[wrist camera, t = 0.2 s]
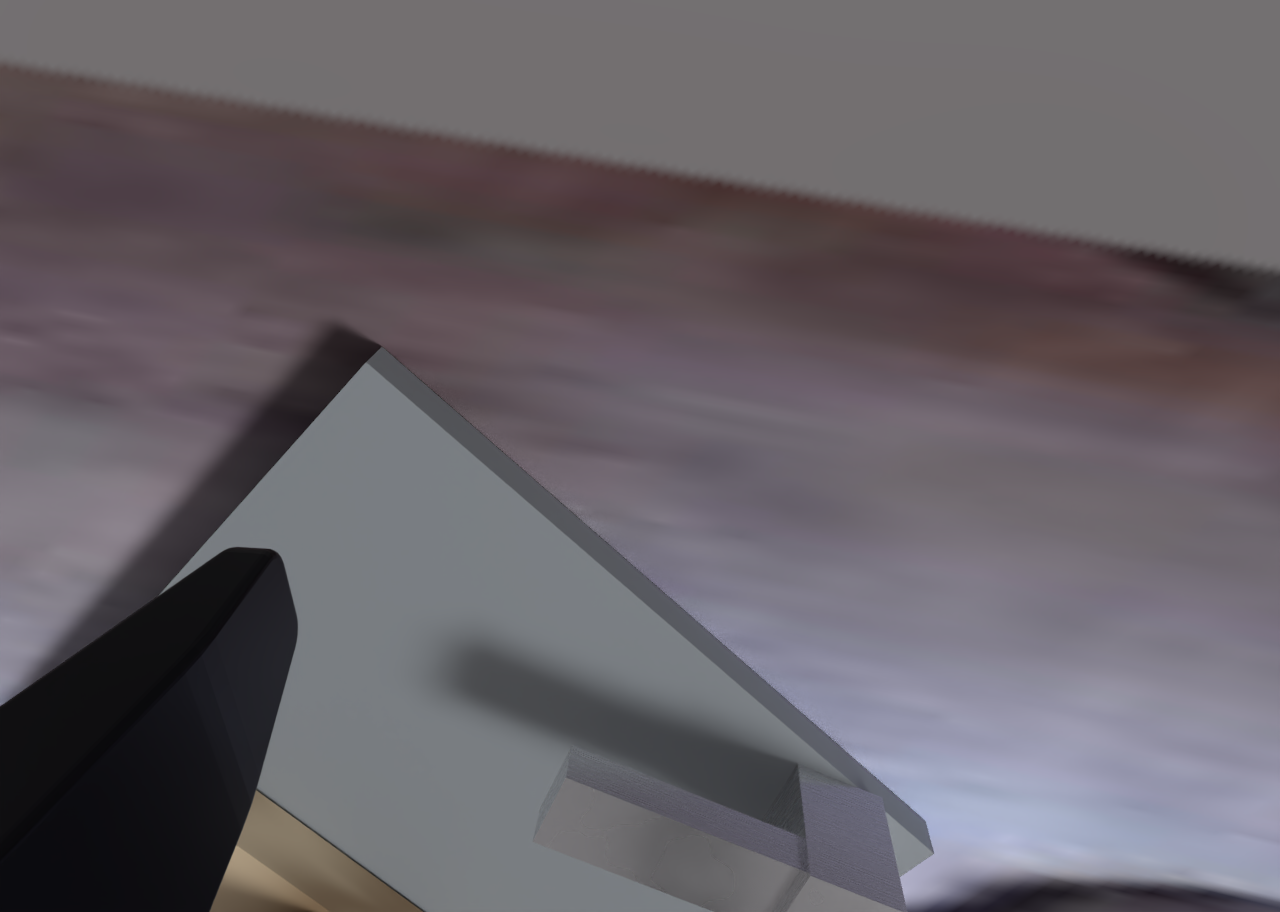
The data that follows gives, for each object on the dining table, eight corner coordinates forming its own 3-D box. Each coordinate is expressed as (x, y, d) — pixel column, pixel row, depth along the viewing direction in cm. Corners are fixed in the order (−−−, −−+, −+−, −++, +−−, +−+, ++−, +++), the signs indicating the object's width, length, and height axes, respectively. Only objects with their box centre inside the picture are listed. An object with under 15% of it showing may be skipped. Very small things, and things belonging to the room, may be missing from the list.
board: (538, 1092, 34) (532, 1129, 32) (32, 738, 29) (6, 766, 28) (925, 821, 29) (933, 853, 27) (381, 346, 24) (366, 361, 23)
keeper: (838, 862, 28) (856, 984, 24) (551, 749, 27) (527, 857, 23) (882, 797, 27) (907, 914, 23) (587, 678, 26) (567, 780, 23)
